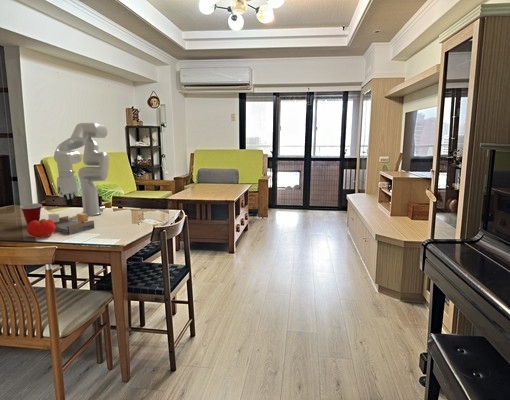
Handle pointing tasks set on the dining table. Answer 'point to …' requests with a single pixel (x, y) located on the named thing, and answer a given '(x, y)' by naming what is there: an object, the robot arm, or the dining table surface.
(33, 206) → the plastic cup
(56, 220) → the block
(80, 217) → the block
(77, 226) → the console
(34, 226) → the tomato
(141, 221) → the dining table surface
